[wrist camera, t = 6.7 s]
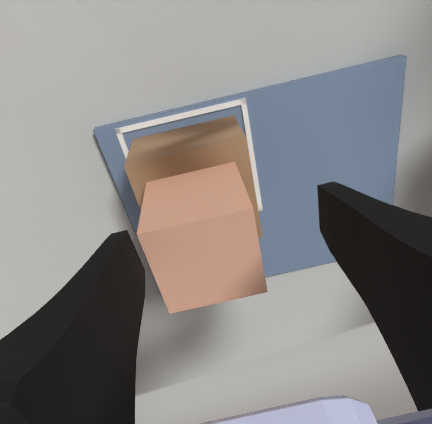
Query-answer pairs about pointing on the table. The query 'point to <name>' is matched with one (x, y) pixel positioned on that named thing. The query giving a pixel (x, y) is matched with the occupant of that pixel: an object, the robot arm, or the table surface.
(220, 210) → the terracotta block
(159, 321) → the table surface
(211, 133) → the walnut block
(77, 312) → the robot arm
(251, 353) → the table surface
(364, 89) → the blueprint plate
